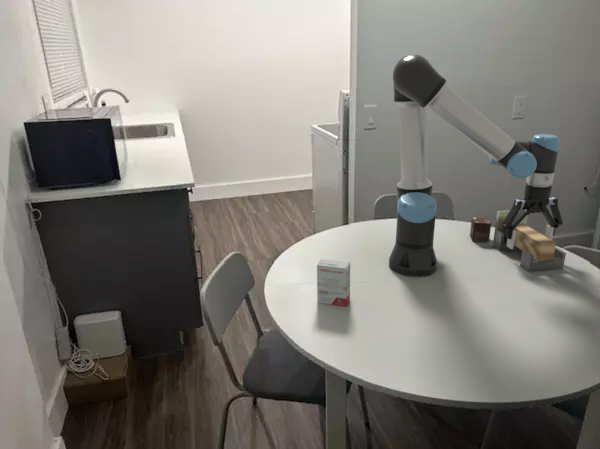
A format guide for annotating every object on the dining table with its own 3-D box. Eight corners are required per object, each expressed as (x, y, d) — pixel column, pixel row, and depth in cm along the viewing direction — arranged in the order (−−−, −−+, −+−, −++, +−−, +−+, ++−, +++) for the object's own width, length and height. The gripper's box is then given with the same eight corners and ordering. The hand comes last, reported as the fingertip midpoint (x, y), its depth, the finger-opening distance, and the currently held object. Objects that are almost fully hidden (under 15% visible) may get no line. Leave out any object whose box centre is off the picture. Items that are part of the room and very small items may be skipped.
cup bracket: (499, 251, 162) (504, 216, 157) (491, 245, 167) (496, 211, 162) (531, 248, 164) (537, 213, 159) (522, 243, 168) (527, 208, 164)
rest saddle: (528, 272, 147) (531, 256, 145) (519, 265, 151) (522, 250, 149) (563, 268, 148) (566, 253, 146) (553, 262, 152) (556, 247, 151)
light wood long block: (552, 260, 147) (556, 242, 145) (538, 261, 147) (541, 243, 145) (520, 239, 164) (523, 223, 162) (507, 240, 164) (509, 223, 161)
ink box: (350, 299, 133) (351, 261, 128) (346, 307, 128) (347, 268, 124) (321, 294, 135) (321, 257, 131) (316, 302, 131) (316, 264, 127)
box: (489, 242, 170) (491, 223, 167) (471, 241, 171) (473, 222, 168) (486, 236, 175) (488, 218, 173) (469, 235, 176) (471, 217, 174)
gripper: (509, 189, 143) (500, 253, 150) (582, 185, 146) (570, 247, 153) (496, 183, 150) (487, 244, 157) (566, 179, 153) (555, 239, 160)
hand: (528, 246), depth 155 cm, fingers open, 13 cm apart
